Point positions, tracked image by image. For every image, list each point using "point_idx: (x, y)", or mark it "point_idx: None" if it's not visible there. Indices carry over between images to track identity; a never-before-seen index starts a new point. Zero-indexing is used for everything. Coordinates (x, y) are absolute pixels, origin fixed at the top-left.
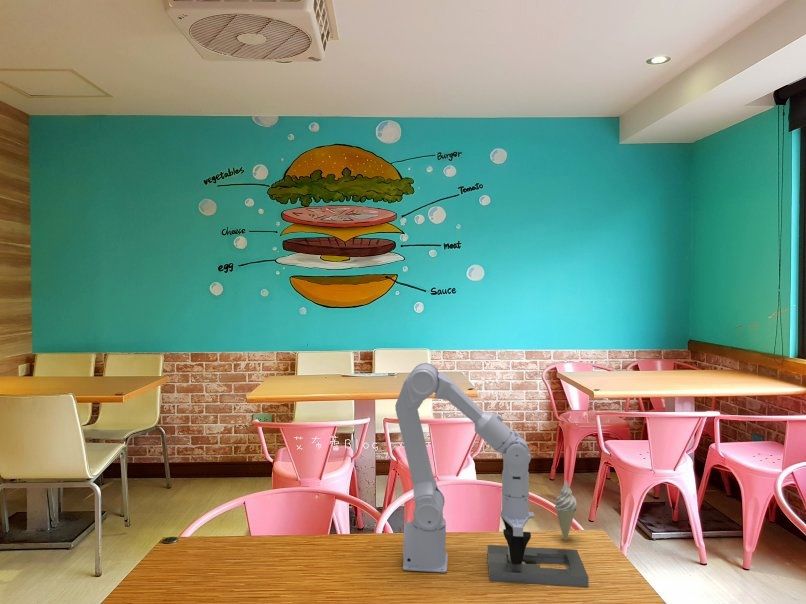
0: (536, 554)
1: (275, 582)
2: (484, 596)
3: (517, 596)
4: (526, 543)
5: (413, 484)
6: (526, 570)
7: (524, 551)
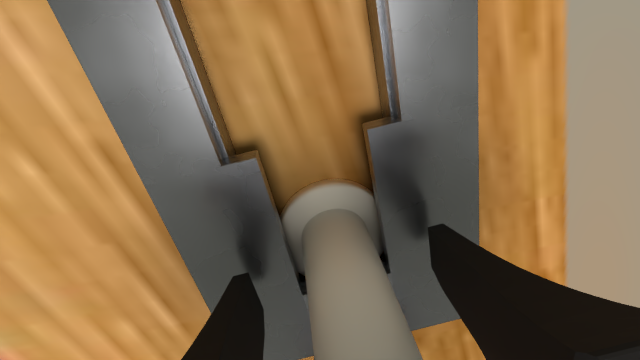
0: (239, 165)
1: None
2: (560, 273)
3: (558, 176)
4: (592, 299)
5: None
6: (448, 185)
7: (504, 260)
